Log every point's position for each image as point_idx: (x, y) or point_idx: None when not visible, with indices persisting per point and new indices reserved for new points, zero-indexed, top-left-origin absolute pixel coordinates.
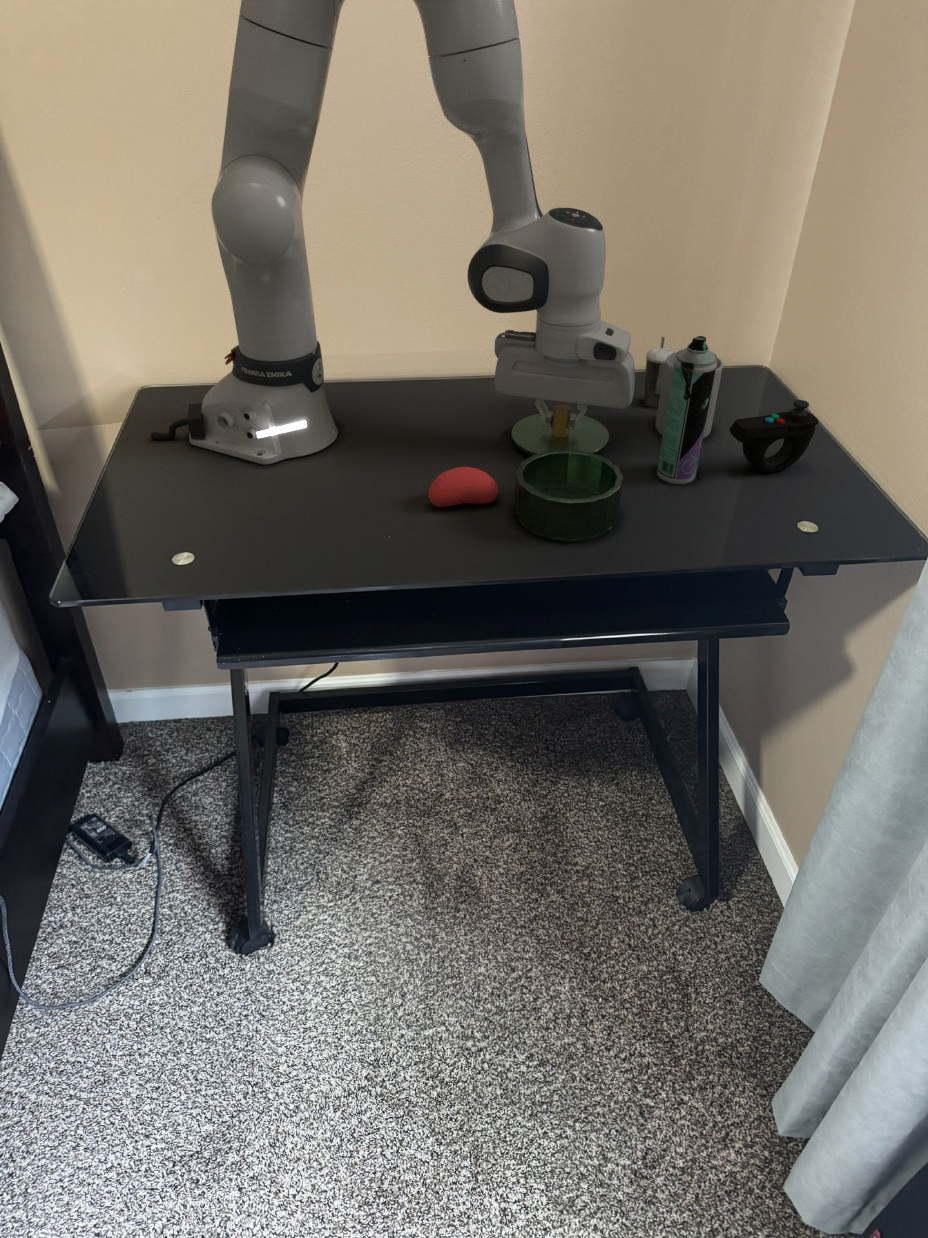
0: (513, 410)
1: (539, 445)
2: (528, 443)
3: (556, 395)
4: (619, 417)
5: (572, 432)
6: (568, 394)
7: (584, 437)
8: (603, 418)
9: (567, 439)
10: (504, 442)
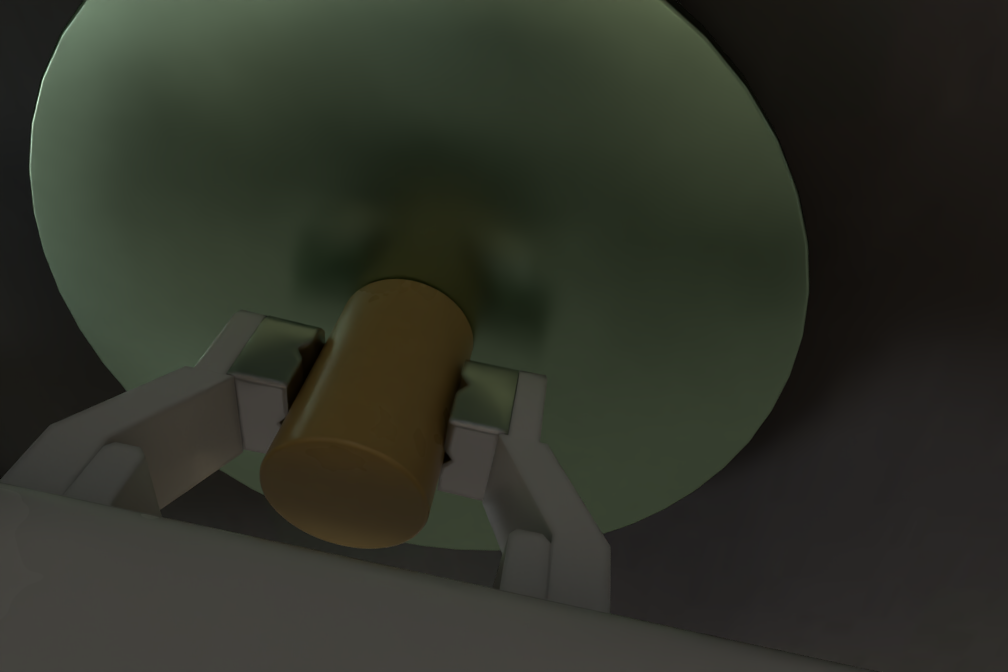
0: (701, 591)
1: (569, 134)
2: (674, 168)
3: (314, 628)
4: (176, 517)
5: None
6: (123, 627)
7: (217, 276)
8: (245, 513)
9: (336, 247)
10: (832, 299)
